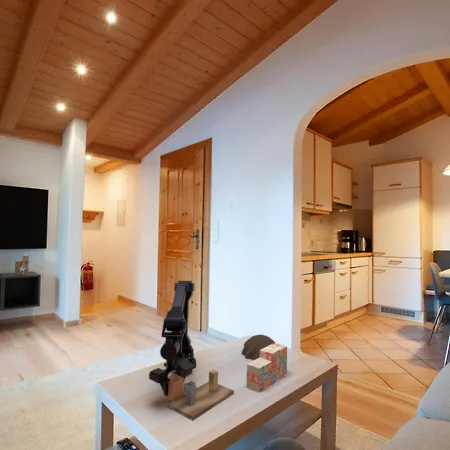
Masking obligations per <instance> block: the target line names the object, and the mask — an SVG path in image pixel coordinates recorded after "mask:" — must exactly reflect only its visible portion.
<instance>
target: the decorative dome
mask: <svg viewBox="0 0 450 450" xmlns="http://www.w3.org/2000/svg"><path fill="white" fill-rule="evenodd" d="M274 343H276V341H275V340H273V338H271V337H270V336H268V335H265V334H256V335H252V336H251V337H250V338H248V339H247V340H246V341H245V342H244V343H243V349H242V351H241V355H243V356H244V359H246V360H251V361H254V360H256V359H258V358H260V350H261V349H263V348H265V347H268V346H269V345H272V344H274Z"/></svg>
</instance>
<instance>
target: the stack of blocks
mask: <svg viewBox="0 0 450 450" xmlns="http://www.w3.org/2000/svg"><path fill="white" fill-rule="evenodd" d="M286 374H287V375H288V346H287V345H285V344H284V345H283V344H280V343H276V342H275V343H274V344H272V345H269V346H268V347H265V348H263V349H261V350H260V358H258V359H256V360H254V361H253V360H251V361H250V362H247V364H246V388H248V389H250V390H253V391H255V392H258V393H260V392H261V391H264V390H265V389H267V388H268V387H270V386H271V385H273V384H274V383H275V382H277V381H279V380H281V379H282V378H283V377H285V376H286Z"/></svg>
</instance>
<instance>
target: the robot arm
mask: <svg viewBox="0 0 450 450" xmlns="http://www.w3.org/2000/svg"><path fill="white" fill-rule="evenodd" d="M195 288H196V287H195V283H194V282H193V280H178V281H177V282H174V286H173V291H174V297H173V300H172V305H171V309H169V310H168V311H167V313H166V315H165V317H164V319H163V323H162V324H163V325H162V328H161V329H162V330H161V338H165V341H164V343H163V344H162V346H161V348H160V349H159V354H160V356H161V358H162V359H163V360H165V362H164V363H163V367H165V369H162V368H160V367H157V368H155V369H153V370H150V372H149V373H148V379H149V380H150V381H153V382H154V383H157V384H159V385H160V387H161V389H162V393H163V392H164V395H165V396H168V383H169V381H170V380H171V379H169V378H168V377H169V376H170V374H176V375H178V376H180V377H183V378H184V381H185V380H186V377H188V376H189V375H192V373H193V370H194V369H196V368H197V359H196V358H195V352H194V350H195V349H194V348H193V345H192V340H191V337H190V336H189V333H188V331H189V315H190V314H189V312H190V311H189V310H190V300H191V299H192V297H193V295H194V292H195Z"/></svg>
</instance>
